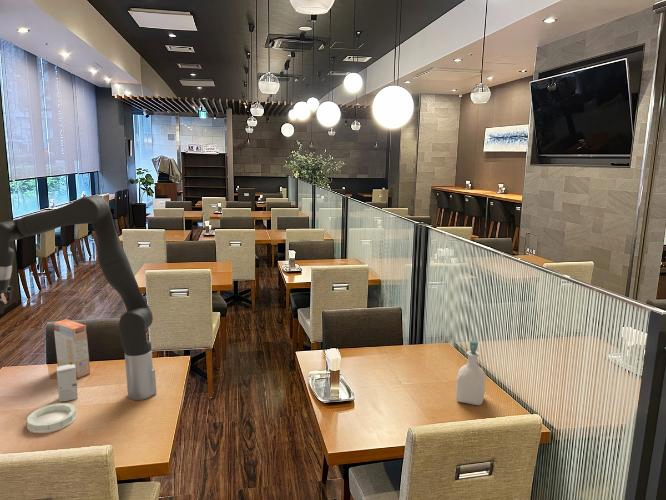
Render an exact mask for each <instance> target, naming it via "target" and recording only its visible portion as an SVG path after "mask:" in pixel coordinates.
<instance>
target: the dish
mask: <svg viewBox="0 0 666 500" xmlns="http://www.w3.org/2000/svg"><path fill="white" fill-rule="evenodd" d="M77 418H78V413H77V409H76V407H75V405H74V404H71V403H67V402H64V403H63V402H59V403H52V404H49V405H45V406H42V407H40V408H38V409H36V410H34V411H32V412H31V413H30V414H29V415H28V416H27V418H26V420H27V421H26V427H27V428H26V429H27V430H28V431H29V432H30V433H32V434H48V433H49V434H50V433H54V432H58V431H60V430H63V429H65V428H67V427H68V426H71V425H72V424H73V423H74V422H75V421H76V419H77Z"/></svg>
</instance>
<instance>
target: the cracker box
mask: <svg viewBox="0 0 666 500" xmlns="http://www.w3.org/2000/svg"><path fill="white" fill-rule="evenodd" d="M53 332H54V342H55V351H56V362H57V363H56V364H57V367H59V366H63V365H70V364H75V367H76V379H80V378H82V377H85V376H87V375H90V374H91V368H90V354H89V347H88V346H89V345H88V335H87V325H86V324H82V323H80V322H78V321H73V320H71V319H68V318H66V319H62V320H59V321H55V322H53Z"/></svg>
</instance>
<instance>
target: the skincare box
mask: <svg viewBox="0 0 666 500" xmlns="http://www.w3.org/2000/svg"><path fill="white" fill-rule="evenodd" d="M55 369H56V381H57V392H58V393H57V394H58V400H59V403H63V402H66V401H67V402H69V401H72V400H76V399H78V397H79V394H78V383H77V378H76V367H75V364H70V365H63V366H59V367H58V366H56V367H55Z"/></svg>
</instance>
